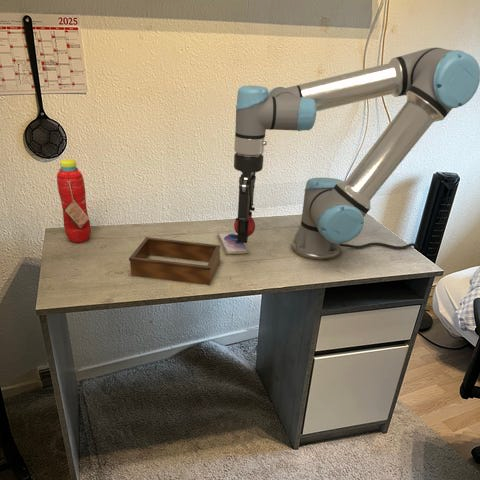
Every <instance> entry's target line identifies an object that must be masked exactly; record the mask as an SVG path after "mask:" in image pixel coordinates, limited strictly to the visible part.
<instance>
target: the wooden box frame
mask: <svg viewBox="0 0 480 480" xmlns="http://www.w3.org/2000/svg"><path fill="white" fill-rule="evenodd" d="M221 245H222V244H221ZM221 245H220V244H212V243H202V242H195V241H186V240H176V239H168V238H159V237H158V238H157V237H151V236H150V237H149V236H146V237H144V239H143V240H142V242H141V243H140V244H139V245H138V246H137V248H136V249H135V250H134V251H133V253H132V254H131V255H130V256H129V257H128V261H129V265H130V276H132V277H133V276H134V277H140V278H147V279H157V280H166V281H174V282H183V283H190V284H199V285H206V286H210V285H211V282H212V280H213V278H214V277H215V273H216V271H217V268H218V266H219V264H220V262H221V261H220V258H221V256H220V255H221V248H222V246H221ZM149 256H155V257H163V258H172V259H182V260H190V261H198V262H207V264H206V265H205V264H197V263H196V264H195V263H187V262H178V261H171V260H163V259H162V260H161V259H153V258H148V257H149Z"/></svg>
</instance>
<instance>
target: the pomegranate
mask: <svg viewBox="0 0 480 480" xmlns="http://www.w3.org/2000/svg"><path fill="white" fill-rule="evenodd" d="M248 220H249V224H248V237H250V236H252V235H253V233H254V232H255V230H256V222H255V220H254V218H253V216H252V217H251V216H250V215H248ZM233 229H234V232H235V233H237V234H238V221H236V220H234V224H233Z"/></svg>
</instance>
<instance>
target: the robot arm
mask: <svg viewBox="0 0 480 480" xmlns="http://www.w3.org/2000/svg"><path fill="white" fill-rule="evenodd" d="M478 62H479V61H477V59H476V58H475V57H474V56H472V54H470V53H467V52H465V51H462V50H458V49H455V50H453V49H446V48H443V47H429V48H424V49H420V50H416V51H414V52H410V53H407V54H404V55H399V56H395V57H392V58H391V59H390V60H389V62H388V63H385V64H380V65H377V66H372V67H367V68H364V69H359V70H355V71H351V72H346V73H343V74H337V75H334V76H330V77H326V78H321V79H317V80H313V81H309V82H304V83H301V84H300V83H299V84H297V85H291V86H287V87H285V86H277V87H273V88H271V89H270V91H269V89H268V87H266V86H261V85H252V84H251V85H249V84H248V85H242V86H240V87H239V88H238V90H237V95H236V96H237V97H236V105H235V132H234V146H233V151H234V155H233V169H235V170H236V171H238V172H240V173H241V174H240V176H239V178H238V204H237V205H238V206H237V217H236V218H235V221H238V238H237V242H239V243H244V244H248V239H249V236H248V224H249V220H248V215H250V216H251V217H252V218H253V212H255V211H256V210H255V209H256V208H255V207H253V206H254V193H255V183H256V180H257V175H256V173H258V172H261V171H262V170H263V168H264V155H263V154H264V152H265V146H267V144H268V142H267V141H266V140H265V138H266V131H267V130H268V131H269V130H270V131H272V130H273V131H297V132H300V131H310V130H312V129H313V127H314V126H315V123H316V120H317V119H316V118H317V112H321V111H326V110H329V109H333V108H338V107H341V106H347V105H351V104H355V103H359V102H364V101H368V100H372V99H376V98H380V97H385V96H390V95H391V96H392V97H394V98H398V97H403V96H406V100H405V103H404V104H403V106H402V107H401V108H400V109H399V111H398V112H397V113H396V115H394V117H393V119H392V120H391V121H390V122H389V124H388V125H387V126H386V128H385V129H384V130H383V132H382V133H380V134H381V135H379V137H378V138H377V139H376V141H375V142H374V143H373V144H372V145H371V147H370V148H369V150H368V151H367V152H366V154H365V155H364V156H363V158H362V159H361V160H360V162H359V163H358V164H357V166H356V167H355V168H354V170H353V171H352V172H351V173H350V175H349V176H348V177H347V178H346V180H342V179H338V178H333V177H312V178H309V179H308V180H307V181H306V183H305V188H304V198H303V204H302V211H301V221H300V226H299V228H298V230H297V232H296V234H295V236H294V238H293V240H292V241H291V245H292V246H291V248H292V251H293V252H294V253H295V254H297V255H298V256H300V257H302V258H305V259H309V260H315V261H327V260H333V259H335V258H337V257H338V256H339V255H340V250H341V247H343V248H352V249H364V248H367V247H371V246H380V247H386V248H389V249H394V250H404V249H407V248H410V247H414V248H416V249H418V248H419V246H418V244H416V243H414V242H411V243H408V244H406V245H392V244H388V243H384V242H368V243H365V244H362V245H354V244H348V243H349V242H351V241H353V240H355V239H356V238H357V237H358V236H359V235H361V232H362V231H363V228H364V222H365V216H366V215H367V214H368V212H370V210H371V207H372V206H371V201H372V199H373V197H374V196H375V195H376V194H377V193H378V192H379V190H380V189H381V188H382V186H383V185H384V184H385V182H386V181H387V180H388V179H389V178H390V176H391V175H392V174H393V173H394V172H395V170H396V169H397V168H398V167H399V165H400V164H401V163H402V162H403V161H404V160H405V158H406V157H407V155H408V154H409V153H410V152H411V151H412V149H413V148H414V147H415V146H416V144H418V142H419V141H420V139H422V137H423V136H424V134H425V133H426V132H427V131H428V130H429V128H430V127H431V126H432V125H433V124H434V123H435V122H440V121H443V120H444V119H445V118H447V116H448V115H449V113H450V112H451V111H452V110H453V109H457V108H460V107H463V106H464V105H466V104H467V103H468V102H470V100H472V99H473V97H474V96H475V94H476V93H477V91H478V89H479V85H480V64H479V63H478Z"/></svg>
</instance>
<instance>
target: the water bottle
mask: <svg viewBox="0 0 480 480" xmlns="http://www.w3.org/2000/svg"><path fill="white" fill-rule="evenodd" d="M59 166H60V168H59V169H58V172H57V174H56V183H57V184H56V185H57V190H58V195H59V198H60V203H61V208H62V217H63V228H64V233H65V235H66V237H67V238H68V240H69V242H72V243H76V244H77V243H78V244H80V243H85V242H87V241H89V239H90V236H91V233H92V231H91V223H90V217H89V213H88V209H87V199H86V198H87V197H86V186H85V185H86V184H85V180H84V177H83V176H84V175H83V174H82V172H81V171H80V170H79V169H78V167H77V166H78V164H77V162H76V160H75V159H70V158H65V159H61V160H60V161H59Z"/></svg>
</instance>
